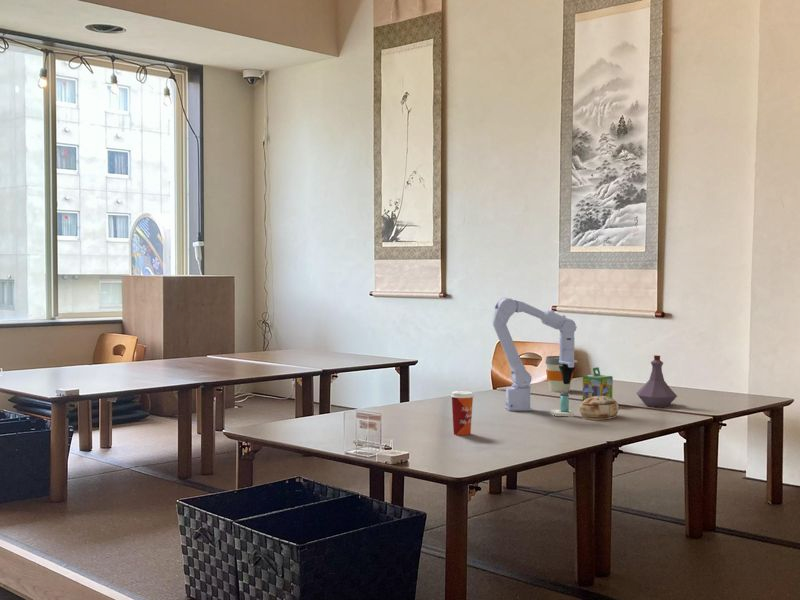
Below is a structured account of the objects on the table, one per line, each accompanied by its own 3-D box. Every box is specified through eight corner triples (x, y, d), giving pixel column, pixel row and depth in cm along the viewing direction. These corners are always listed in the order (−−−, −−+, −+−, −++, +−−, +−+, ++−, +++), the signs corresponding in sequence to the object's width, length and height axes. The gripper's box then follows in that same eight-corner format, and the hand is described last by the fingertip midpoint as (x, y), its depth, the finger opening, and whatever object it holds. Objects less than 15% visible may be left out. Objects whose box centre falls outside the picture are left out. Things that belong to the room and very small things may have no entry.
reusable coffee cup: (579, 390, 411) (579, 357, 410) (563, 393, 402) (563, 359, 401) (555, 387, 419) (555, 355, 419) (539, 390, 410) (539, 357, 410)
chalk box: (601, 406, 365) (602, 369, 365) (581, 404, 372) (582, 367, 371) (613, 404, 372) (613, 367, 372) (593, 401, 378) (593, 366, 378)
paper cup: (466, 437, 301) (467, 394, 301) (446, 434, 305) (446, 392, 305) (477, 433, 308) (478, 391, 307) (457, 430, 312) (457, 390, 311)
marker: (560, 411, 344) (560, 393, 344) (560, 410, 347) (560, 392, 347) (569, 411, 344) (568, 393, 344) (568, 410, 347) (568, 392, 347)
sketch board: (555, 416, 341) (555, 413, 341) (550, 413, 349) (550, 409, 349) (573, 416, 342) (573, 413, 342) (568, 412, 350) (568, 409, 350)
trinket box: (620, 415, 345) (620, 394, 345) (614, 421, 331) (614, 400, 331) (584, 413, 350) (584, 392, 350) (577, 419, 336) (577, 398, 336)
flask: (627, 402, 375) (628, 354, 374) (663, 401, 380) (663, 353, 379) (649, 409, 359) (650, 358, 359) (685, 407, 364) (686, 357, 363)
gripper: (581, 351, 351) (581, 386, 351) (572, 347, 365) (571, 381, 366) (563, 351, 350) (563, 386, 351) (554, 347, 365) (554, 381, 365)
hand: (566, 383), depth 358 cm, fingers closed
